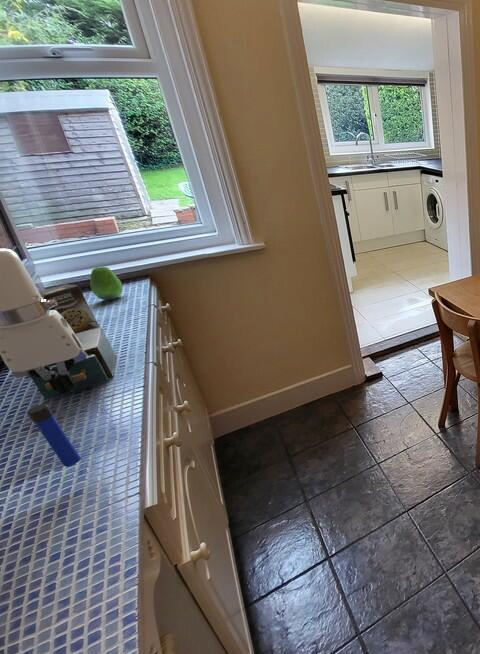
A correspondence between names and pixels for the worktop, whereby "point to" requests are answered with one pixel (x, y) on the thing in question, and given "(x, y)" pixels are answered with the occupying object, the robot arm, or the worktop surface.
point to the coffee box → (72, 307)
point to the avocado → (105, 283)
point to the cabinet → (99, 348)
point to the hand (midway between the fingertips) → (67, 390)
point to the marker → (54, 434)
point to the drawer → (75, 376)
